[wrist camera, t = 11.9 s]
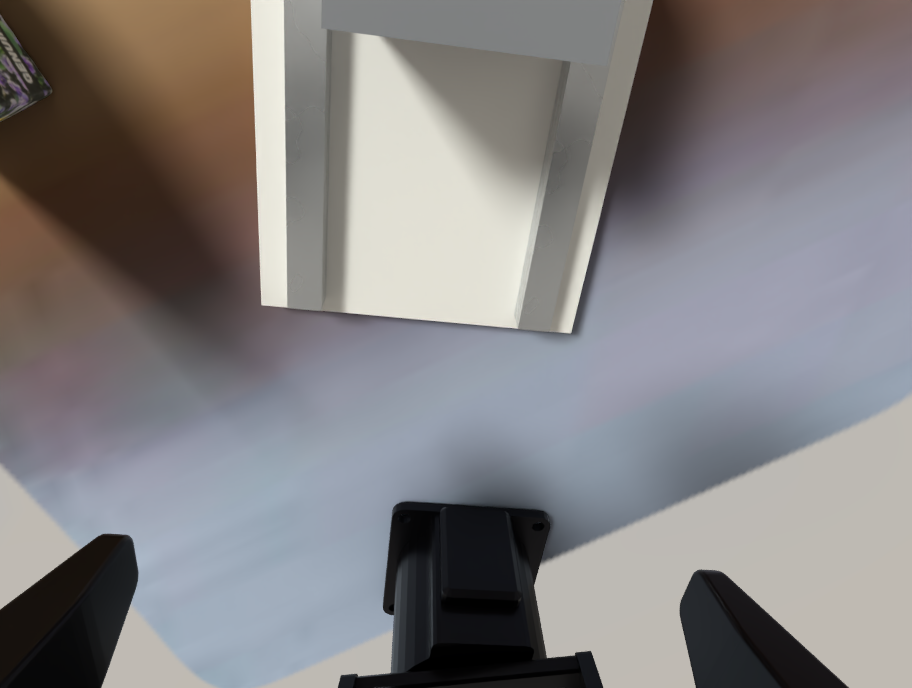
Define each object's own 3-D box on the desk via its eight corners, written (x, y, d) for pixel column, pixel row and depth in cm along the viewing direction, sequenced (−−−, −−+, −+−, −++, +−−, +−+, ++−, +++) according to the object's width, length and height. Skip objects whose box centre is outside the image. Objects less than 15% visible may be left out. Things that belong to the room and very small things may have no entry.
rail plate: (565, 319, 21) (592, 383, 18) (268, 291, 20) (235, 353, 17) (720, -332, 13) (823, -446, 10) (248, -429, 12) (178, -592, 9)
